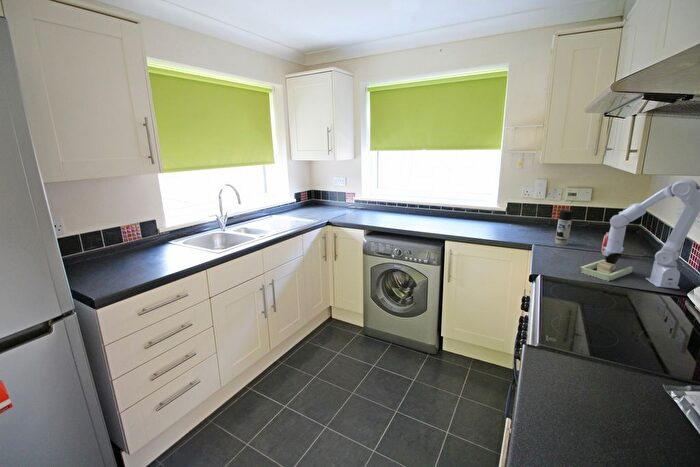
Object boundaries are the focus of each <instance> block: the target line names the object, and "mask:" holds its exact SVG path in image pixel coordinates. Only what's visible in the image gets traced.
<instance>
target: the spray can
mask: <svg viewBox="0 0 700 467" xmlns="http://www.w3.org/2000/svg"><path fill="white" fill-rule="evenodd" d="M573 213H574V212H573V210H568V209H561V210H559V213H558V214H559V215H558V221H557V227H556V234H555V238H554V240H555V241H554V243H555V245H559V246H568V244H569V238H570V233H571V227H572V221H573V220H572V219H573Z"/></svg>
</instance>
